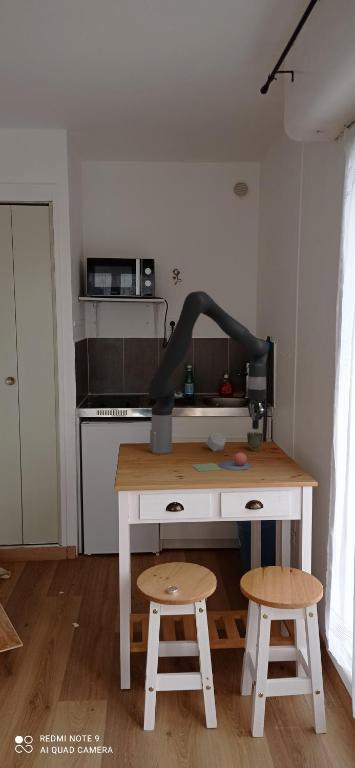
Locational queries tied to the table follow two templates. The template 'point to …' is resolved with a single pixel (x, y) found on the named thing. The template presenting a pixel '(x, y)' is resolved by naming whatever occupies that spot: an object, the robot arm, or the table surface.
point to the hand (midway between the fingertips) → (255, 428)
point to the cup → (254, 440)
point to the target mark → (232, 465)
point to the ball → (240, 459)
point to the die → (216, 441)
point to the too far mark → (206, 467)
